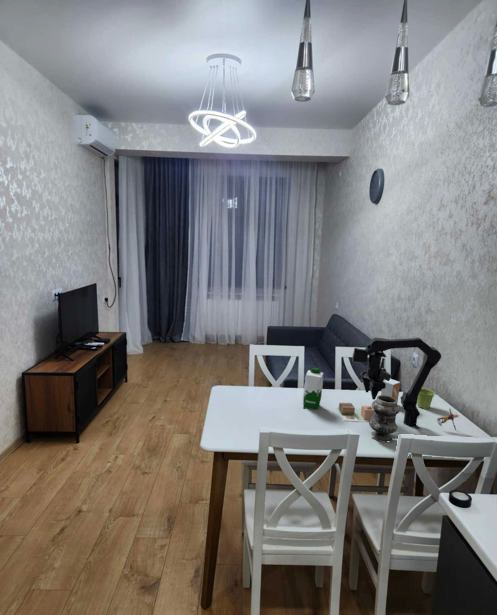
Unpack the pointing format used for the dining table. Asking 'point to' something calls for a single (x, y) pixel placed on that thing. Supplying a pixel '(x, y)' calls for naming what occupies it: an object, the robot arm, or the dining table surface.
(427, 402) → the plant pot
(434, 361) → the robot arm
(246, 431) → the dining table surface
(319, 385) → the milk carton
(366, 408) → the pink knobbed block
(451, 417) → the action figure
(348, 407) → the walnut brick
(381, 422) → the ornate grey vase
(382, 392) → the small box
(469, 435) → the dining table surface
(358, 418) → the board
